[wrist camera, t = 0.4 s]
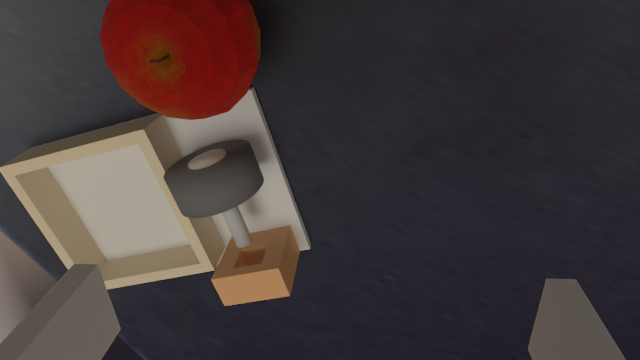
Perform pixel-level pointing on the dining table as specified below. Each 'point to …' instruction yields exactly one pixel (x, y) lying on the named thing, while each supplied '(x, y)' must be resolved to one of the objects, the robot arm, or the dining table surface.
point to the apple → (182, 53)
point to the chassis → (161, 205)
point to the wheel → (217, 184)
